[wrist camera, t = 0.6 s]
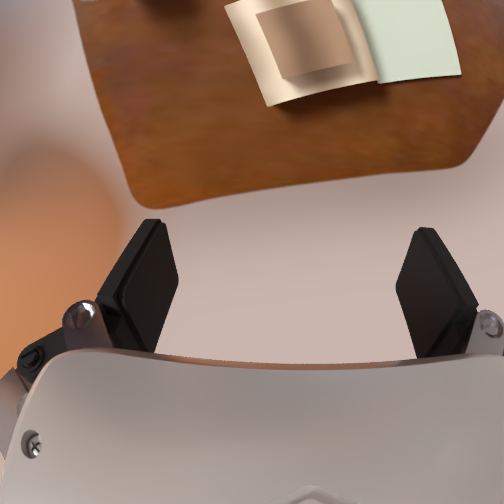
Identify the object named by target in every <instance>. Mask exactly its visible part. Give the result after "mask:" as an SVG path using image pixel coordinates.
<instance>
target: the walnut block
mask: <svg viewBox="0 0 504 504" xmlns="http://www.w3.org/2000/svg"><path fill="white" fill-rule="evenodd" d="M255 15H256V17H257V19H258V22H259V24H260V26H261V28H262V31H263V33H264V35H265V38H266V40H267V42H268V45H269V47H270V49H271V52H272V54H273V57H274V59H275V62H276V64H277V67H278V69H279V72H280V74H281V77H282V79H286V78H289V77H293V76H297V75H300V74H304V73H308V72H312V71H316V70H320V69H324V68H329V67H333V66H338V65H343V64H348V63H353V62H354V59H353V56H352V53H351V50H350V47H349V44H348V41H347V38H346V35H345V33H344V30H343V27H342V25H341V22H340V20H339V17H338V15H337V12H336V10H335V7H334V5H333V3H332V0H307V1H303V2H298V3H294V4H290V5H286V6H282V7H278V8H275V9H271V10H268V11H265V12H261V13H258V14H255Z"/></svg>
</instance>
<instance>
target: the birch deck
mask: <svg viewBox="0 0 504 504" xmlns="http://www.w3.org/2000/svg"><path fill="white" fill-rule="evenodd" d="M303 1H307V0H240V1H237V2H235V3H232V4H229V5H226V6H224V8H225V10H226V12H227V14H228V16H229V18H230V20H231V22H232V25H233V27H234V29H235V31H236V33H237V36H238V38H239V40H240V42H241V45H242V47H243V49H244V51H245V54H246V56H247V58H248V61H249V63H250V65H251V68H252V70H253V73H254V75H255V77H256V80H257V82H258V85H259V87H260V90H261V92H262V95H263V97H264V100H265V102H266V105H267V107H268V106H272V105H275V104H278V103H281V102H285V101H288V100H292V99H295V98H299V97H303V96H306V95H310V94H314V93H318V92H322V91H326V90H331V89H335V88H339V87H344V86H349V85H354V84H359V83H364V82H369V81H375V80H378V77H377V74H376V70H375V67H374V63H373V60H372V57H371V53H370V50H369V47H368V44H367V41H366V38H365V35H364V33H363V30H362V27H361V24H360V22H359V19H358V16H357V14H356V11H355V9H354V6H353V4H352V1H351V0H332V3H333V5H334V7H335V10H336V12H337V15H338V17H339V20H340V22H341V25H342V27H343V30H344V33H345V35H346V38H347V41H348V44H349V47H350V50H351V53H352V56H353V59H354V62H353V63H348V64H343V65H338V66H333V67H329V68H324V69H320V70H316V71H312V72H308V73H304V74H300V75H297V76H293V77H289V78H286V79H282V77H281V74H280V72H279V69H278V67H277V64H276V62H275V59H274V57H273V54H272V52H271V49H270V47H269V45H268V42H267V40H266V38H265V35H264V33H263V31H262V28H261V26H260V24H259V22H258V19H257V17H256V15H255V14H258V13H261V12H265V11H268V10H271V9H275V8H278V7H282V6H286V5H290V4H294V3H298V2H303Z"/></svg>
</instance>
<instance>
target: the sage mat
mask: <svg viewBox="0 0 504 504" xmlns="http://www.w3.org/2000/svg"><path fill="white" fill-rule="evenodd" d="M351 1H352V4H353V6H354V9H355V11H356V14H357V16H358V19H359V22H360V24H361V27H362V30H363V33H364V35H365V38H366V41H367V44H368V47H369V50H370V53H371V57H372V60H373V63H374V67H375V70H376V74H377V77H378V80H377V82H378V84H381V83H387V82H394V81H401V80H408V79H416V78H425V77H435V76H448V75H461V70H460V65H459V60H458V56H457V51H456V47H455V43H454V39H453V36H452V32H451V29H450V25H449V22H448V19H447V16H446V13H445V10H444V7H443V4H442V1H441V0H351Z"/></svg>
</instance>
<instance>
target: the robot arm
mask: <svg viewBox="0 0 504 504" xmlns="http://www.w3.org/2000/svg"><path fill="white" fill-rule="evenodd" d="M177 286H178V273H177V269H176V265H175V261H174V257H173V253H172V249H171V245H170V240H169V236H168V232H167V228H166V224H165V223H162V222H161V220H160V219H145V220H144V221H143V222H142V224H141V225H140V227H139V228H138V230H137V231H136V233H135V234H134V236H133V237H132V239H131V240H130V242H129V243H128V245H127V247H126V248H125V250H124V251H123V253H122V254H121V256H120V257H119V259H118V261H117V262H116V264H115V265H114V267H113V269H112V270H111V272H110V274H109V275H108V277H107V279H106V281H105V282H104V284H103V285H102V287H101V289H100V291H99V292H98V294H97V298H96V299H95V301H91V300H81V301H78V302H76V303H74V304H73V305H71V306H70V307H69V308H68V309H67V311H66V312H65V313H64V316H63V318H62V326H63V327H61V328H59V329H57V330H56V331H54V332H52V333H50V334H48V335H46V336H45V337H43V338H41V339H39V340H37V341H35V342H34V343H32V344H30V345H28V346H27V347H26V348H24V350H23V351H22V352H21V353H20V355H19V357H18V361H17V368H16V369H15V368H14V367H12V368H11V369H10V370H9V371H8V372H7V373H6V374H5V375H4V376H3V377H2V378H1V379H0V451H1V453H2V455H3V457H4V459H5V464H4V469H3V474H2V478H1V484H0V504H504V323H503V321H502V319H501V318H500V317H499V316H498V315H497V314H496V313H494V312H492V311H490V310H481V311H480V312H477V309H476V308H477V306H478V305H479V304H478V302H477V300H476V298H475V296H474V294H473V292H472V291H471V289H470V287H469V285H468V283H467V281H466V280H465V278H464V276H463V274H462V273H461V271H460V269H459V267H458V266H457V264H456V262H455V261H454V259H453V257H452V256H451V254H450V253H449V251H448V249H447V248H446V246H445V245H444V243H443V242H442V240H441V238H440V237H439V235H438V234H437V232H436V231H435V230H434V229H433V228H426V227H420V228H419V229H418V230H417V231H415V232H414V234H413V237H412V240H411V243H410V246H409V249H408V252H407V255H406V258H405V260H404V263H403V266H402V269H401V271H400V274H399V277H398V280H397V282H396V293H397V295H398V298H399V301H400V304H401V307H402V310H403V313H404V316H405V319H406V323H407V326H408V329H409V332H410V336H411V339H412V343H413V345H414V349H415V353H416V357H417V359H409V360H398V361H385V362H370V363H346V364H277V363H276V364H275V363H253V362H236V361H222V360H211V359H200V358H191V357H181V356H173V355H164V354H156V353H154V351H155V349H156V346H157V343H158V339H159V336H160V334H161V331H162V328H163V325H164V322H165V319H166V317H167V314H168V311H169V308H170V305H171V303H172V300H173V297H174V294H175V292H176V289H177Z"/></svg>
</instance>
